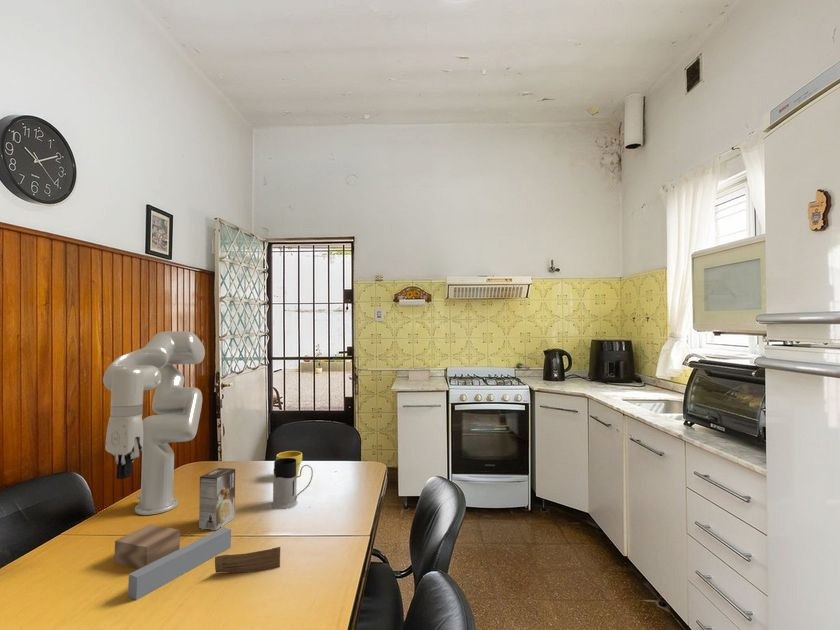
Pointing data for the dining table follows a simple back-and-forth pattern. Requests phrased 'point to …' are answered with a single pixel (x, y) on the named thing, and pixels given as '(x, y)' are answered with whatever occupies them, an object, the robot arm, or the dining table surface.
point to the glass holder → (285, 483)
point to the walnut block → (146, 546)
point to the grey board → (177, 563)
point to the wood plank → (248, 561)
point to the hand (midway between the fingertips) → (124, 477)
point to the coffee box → (217, 498)
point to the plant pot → (291, 454)
